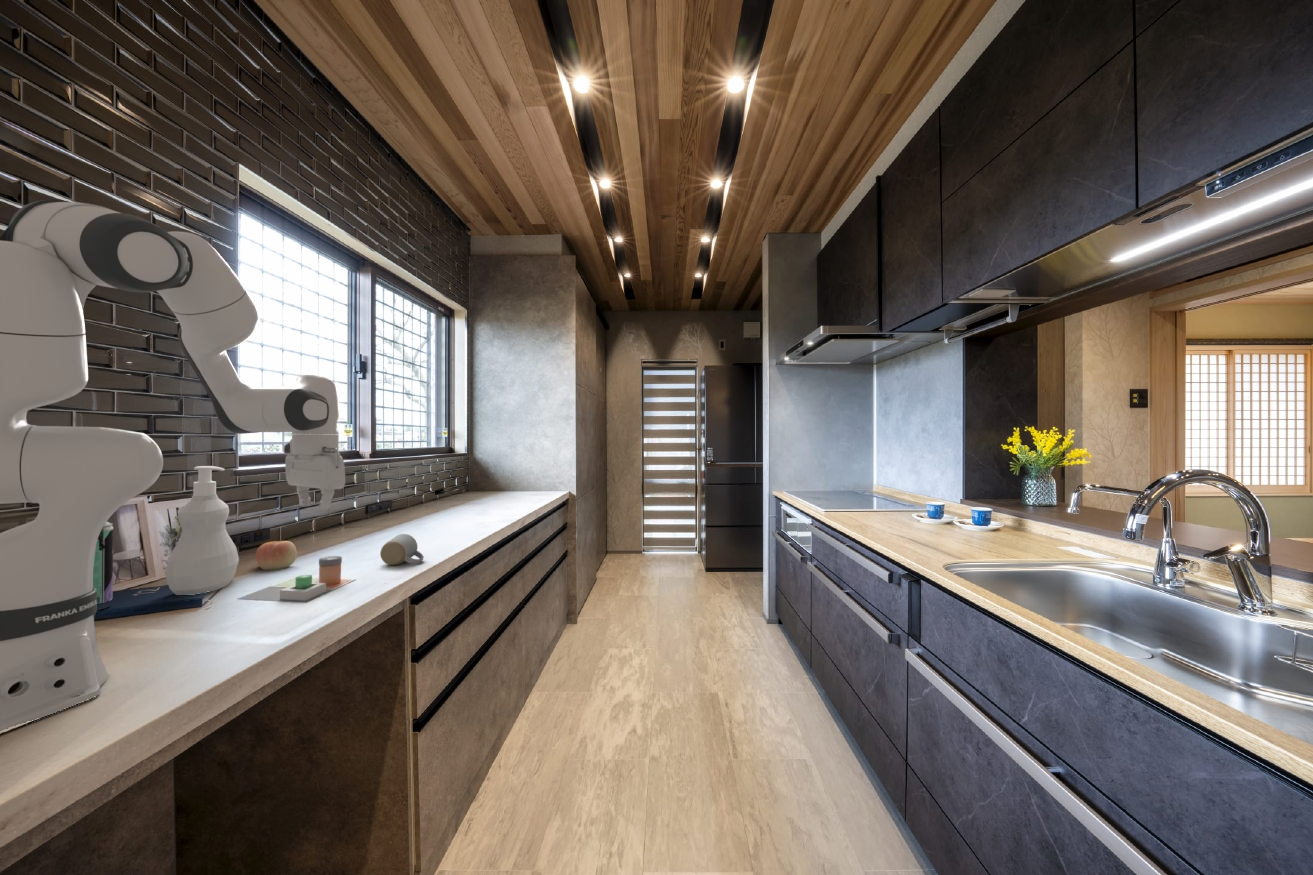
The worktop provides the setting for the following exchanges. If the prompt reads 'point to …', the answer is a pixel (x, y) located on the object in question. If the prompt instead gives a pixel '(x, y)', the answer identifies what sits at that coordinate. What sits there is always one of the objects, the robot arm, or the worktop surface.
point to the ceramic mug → (401, 550)
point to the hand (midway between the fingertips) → (314, 506)
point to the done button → (303, 582)
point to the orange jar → (330, 570)
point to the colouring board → (294, 591)
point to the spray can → (104, 565)
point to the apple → (276, 555)
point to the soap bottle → (202, 542)
